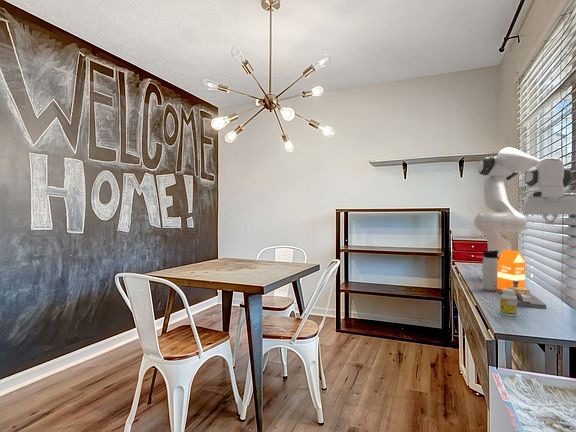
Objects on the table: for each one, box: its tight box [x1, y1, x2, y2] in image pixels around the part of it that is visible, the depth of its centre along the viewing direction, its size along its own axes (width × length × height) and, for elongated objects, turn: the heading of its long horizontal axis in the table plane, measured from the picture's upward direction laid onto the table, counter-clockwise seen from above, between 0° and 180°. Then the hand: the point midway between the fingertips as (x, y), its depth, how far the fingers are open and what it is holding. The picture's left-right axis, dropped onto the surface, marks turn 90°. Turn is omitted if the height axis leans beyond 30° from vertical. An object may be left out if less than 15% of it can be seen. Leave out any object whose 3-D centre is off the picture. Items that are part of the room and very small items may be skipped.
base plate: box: [499, 289, 547, 310], centre depth 151 cm, size 23×12×2 cm, turn 159°
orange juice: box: [497, 249, 526, 290], centre depth 170 cm, size 8×9×20 cm
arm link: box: [511, 280, 531, 302], centre depth 150 cm, size 21×4×5 cm, turn 158°
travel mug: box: [482, 250, 499, 293], centre depth 168 cm, size 6×7×20 cm
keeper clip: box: [509, 287, 531, 296], centre depth 149 cm, size 4×7×4 cm, turn 69°
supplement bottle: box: [499, 289, 518, 317], centre depth 130 cm, size 5×5×10 cm
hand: (549, 224), depth 151 cm, fingers closed
